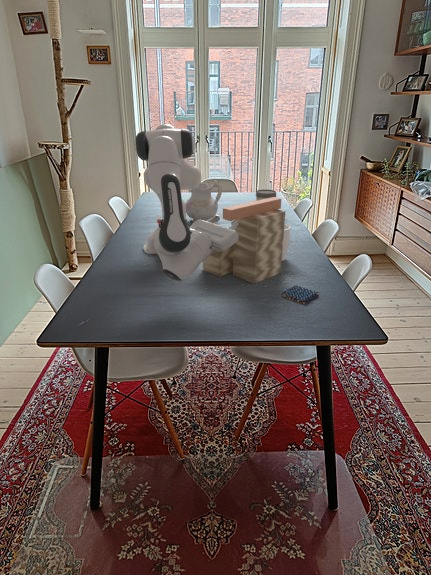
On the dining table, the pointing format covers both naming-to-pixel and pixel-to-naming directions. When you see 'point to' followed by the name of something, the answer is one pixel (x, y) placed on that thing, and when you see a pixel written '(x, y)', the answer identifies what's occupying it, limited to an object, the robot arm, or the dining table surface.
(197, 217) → the ceramic pitcher
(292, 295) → the woven mat
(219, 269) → the base block
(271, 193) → the reusable coffee cup
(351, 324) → the dining table surface
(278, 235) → the stand
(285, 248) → the jar
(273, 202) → the rod
